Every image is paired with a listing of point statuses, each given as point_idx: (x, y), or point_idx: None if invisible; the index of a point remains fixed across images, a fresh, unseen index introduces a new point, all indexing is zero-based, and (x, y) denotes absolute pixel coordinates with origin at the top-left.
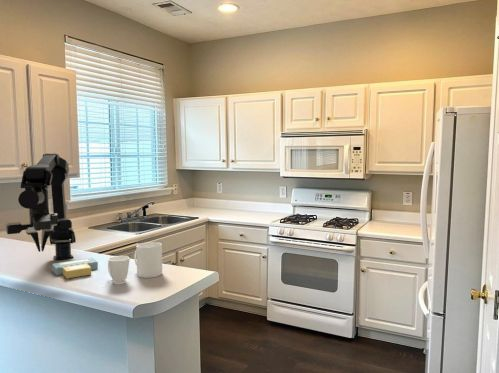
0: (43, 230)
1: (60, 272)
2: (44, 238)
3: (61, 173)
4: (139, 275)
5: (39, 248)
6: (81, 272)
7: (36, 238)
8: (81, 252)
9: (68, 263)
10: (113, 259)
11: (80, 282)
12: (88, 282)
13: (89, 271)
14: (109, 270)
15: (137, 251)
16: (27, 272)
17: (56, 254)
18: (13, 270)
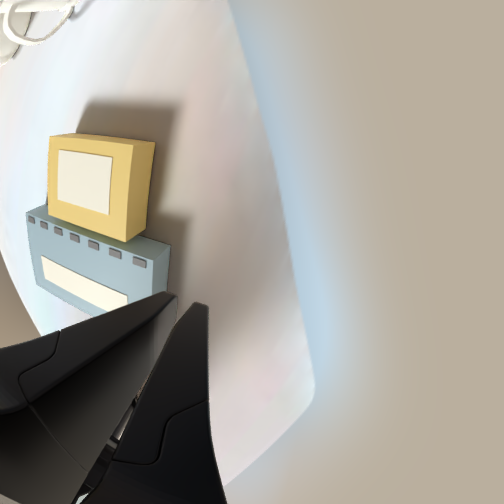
0: (4, 495)
1: (148, 244)
2: (39, 375)
3: None
4: (27, 17)
5: (188, 322)
6: (89, 136)
7: (158, 464)
8: None
9: (98, 288)
10: (10, 2)
11: (140, 50)
12: (122, 32)
13: (67, 134)
14: (41, 39)
15: None
16: (245, 374)
17: (128, 412)
18: (268, 416)
